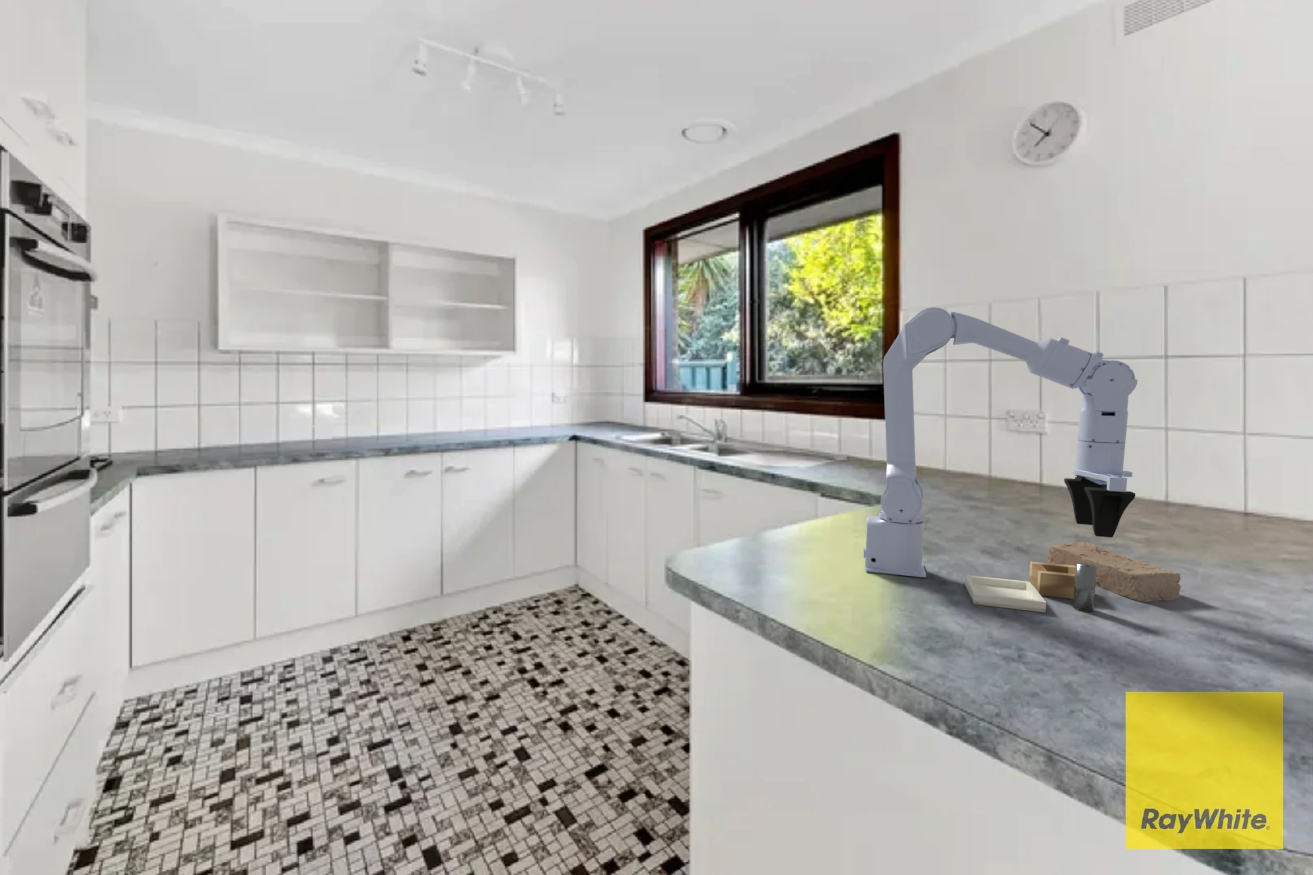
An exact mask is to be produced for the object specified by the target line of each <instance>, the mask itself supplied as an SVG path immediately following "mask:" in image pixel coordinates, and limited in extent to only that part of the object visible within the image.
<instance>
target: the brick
mask: <svg viewBox="0 0 1313 875" xmlns="http://www.w3.org/2000/svg"><path fill="white" fill-rule="evenodd" d="M1077 562H1085V563H1091V564H1094V565H1096V566H1097V572H1096V585H1095V587H1096V588H1097V587H1098V588H1100V589H1103V590H1105V591H1108V592H1111V593H1113V594H1116V595H1119V596H1121V597H1126V598H1128V599H1131V600H1133V601H1136V602H1152V601H1153V602H1154V601H1175V600H1179V599H1180V598H1181V597H1180V596H1181V595H1180V592H1181V587H1182V586H1181V585H1180V581H1181V580H1182V579H1181V574H1180V573H1179V572H1177V571H1175V570H1168V569H1166V568H1163V567H1161V566H1159V565H1157V564H1156V565H1155V564H1151V563H1149V562H1142V561H1140V560H1137V561H1135V560H1133V559H1131V558H1128V557H1127V556H1125V555H1123V554H1120V553H1115V552H1113V551H1111V550H1109V549H1107V548H1104V547H1101V546H1098V545H1097V544H1093V543H1089V542H1083V541H1082V542H1079V541H1077V542H1069V543H1068V542H1067V543H1060V544H1055V545H1054V544H1052V545H1051V544H1050V545H1049V546H1048V549H1047V563H1053V564H1064V565H1074V566H1075V567H1076V563H1077Z"/></svg>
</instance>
